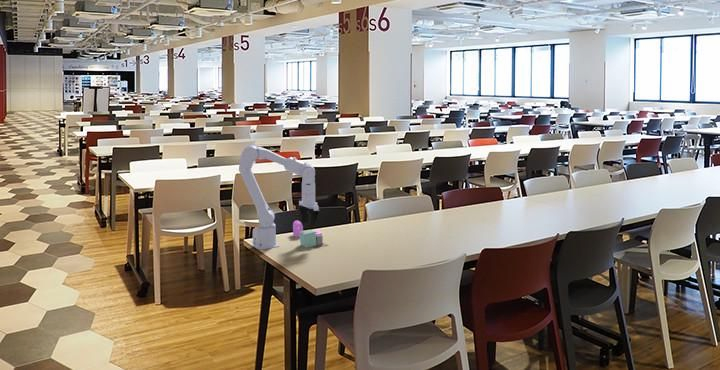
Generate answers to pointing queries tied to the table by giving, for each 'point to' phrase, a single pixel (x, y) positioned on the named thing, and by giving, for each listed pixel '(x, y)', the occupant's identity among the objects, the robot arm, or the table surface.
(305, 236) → the teal cube
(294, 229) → the bracket
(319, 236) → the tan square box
